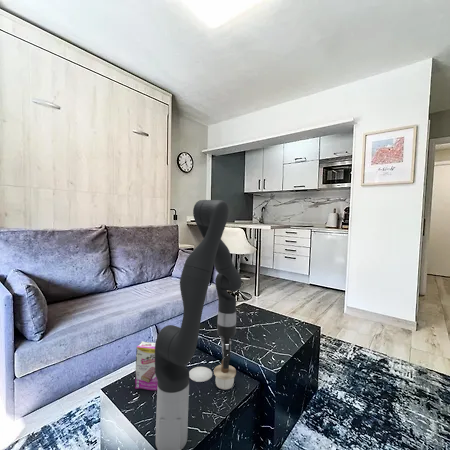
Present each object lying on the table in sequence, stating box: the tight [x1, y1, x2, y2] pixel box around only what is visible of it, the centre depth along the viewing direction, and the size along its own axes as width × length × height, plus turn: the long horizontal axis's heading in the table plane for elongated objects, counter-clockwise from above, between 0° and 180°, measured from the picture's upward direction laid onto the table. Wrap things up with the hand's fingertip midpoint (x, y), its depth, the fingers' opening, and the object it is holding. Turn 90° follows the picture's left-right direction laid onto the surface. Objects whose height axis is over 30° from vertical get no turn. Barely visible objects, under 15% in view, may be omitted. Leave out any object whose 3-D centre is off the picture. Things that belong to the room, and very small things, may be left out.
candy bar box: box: [134, 341, 158, 392], centre depth 96 cm, size 11×5×16 cm, turn 84°
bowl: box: [214, 376, 235, 390], centre depth 100 cm, size 7×7×5 cm
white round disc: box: [189, 366, 213, 383], centre depth 105 cm, size 10×10×1 cm
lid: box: [213, 358, 237, 380], centre depth 99 cm, size 9×9×5 cm
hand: (225, 362), depth 100 cm, fingers open, 8 cm apart
